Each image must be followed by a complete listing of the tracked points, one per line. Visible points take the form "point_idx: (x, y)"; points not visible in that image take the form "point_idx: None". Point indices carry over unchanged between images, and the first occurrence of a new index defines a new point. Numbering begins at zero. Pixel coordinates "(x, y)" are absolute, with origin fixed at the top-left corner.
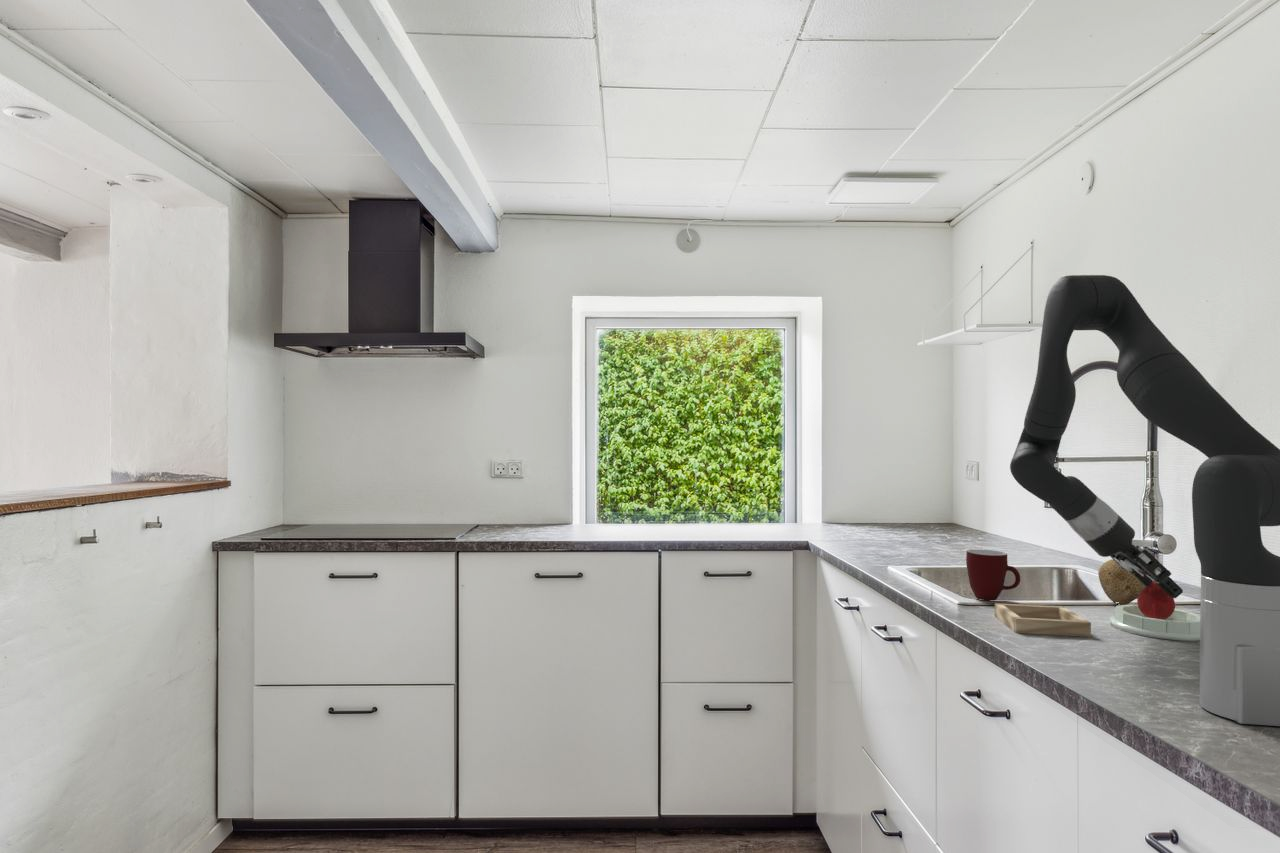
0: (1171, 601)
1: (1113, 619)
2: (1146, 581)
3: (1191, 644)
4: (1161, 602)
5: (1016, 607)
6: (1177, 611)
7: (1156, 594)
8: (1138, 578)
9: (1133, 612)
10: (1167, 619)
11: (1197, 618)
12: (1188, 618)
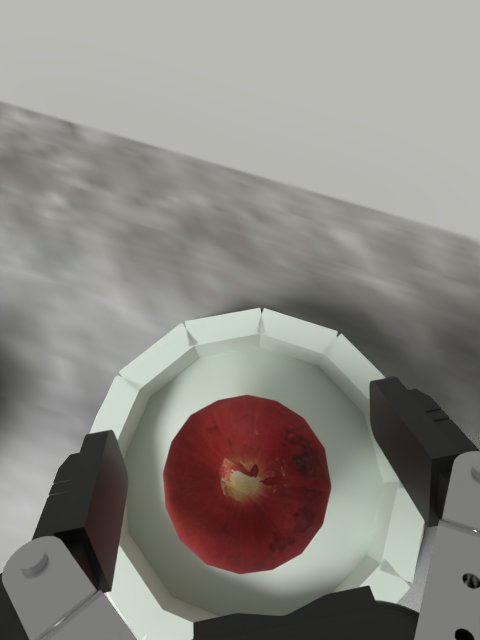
0: (305, 422)
1: None
2: (118, 501)
3: (450, 419)
4: (328, 475)
5: None
6: (164, 370)
7: (316, 496)
8: (114, 559)
9: (129, 542)
10: (150, 408)
11: (297, 338)
12: (210, 349)
